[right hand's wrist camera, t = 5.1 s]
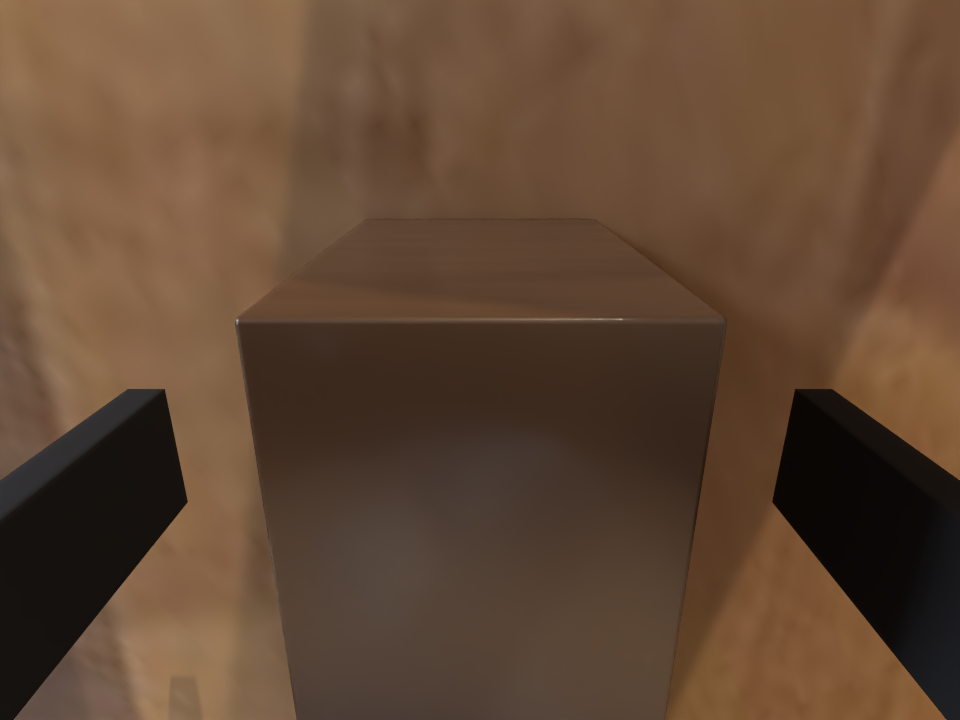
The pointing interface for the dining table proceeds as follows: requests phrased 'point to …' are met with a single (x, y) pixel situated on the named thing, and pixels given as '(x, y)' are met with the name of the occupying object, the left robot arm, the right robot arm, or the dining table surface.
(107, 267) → the dining table surface
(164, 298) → the dining table surface
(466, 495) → the beam
